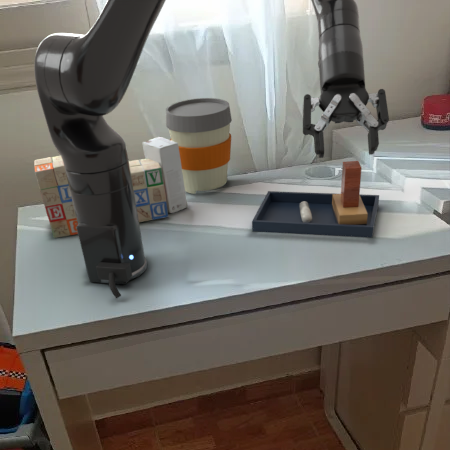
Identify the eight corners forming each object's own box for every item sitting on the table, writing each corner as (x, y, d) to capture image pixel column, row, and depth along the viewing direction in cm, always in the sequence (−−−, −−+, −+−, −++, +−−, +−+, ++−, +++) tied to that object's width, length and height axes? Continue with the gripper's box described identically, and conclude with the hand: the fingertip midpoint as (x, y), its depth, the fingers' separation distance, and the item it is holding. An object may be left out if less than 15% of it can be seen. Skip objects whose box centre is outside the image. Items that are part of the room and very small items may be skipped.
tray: (371, 242, 100) (373, 227, 98) (252, 235, 105) (251, 221, 103) (378, 209, 109) (379, 195, 108) (268, 204, 114) (268, 190, 112)
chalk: (312, 225, 104) (312, 215, 103) (302, 225, 104) (302, 215, 103) (308, 209, 109) (308, 199, 108) (298, 209, 109) (298, 200, 108)
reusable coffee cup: (241, 175, 126) (237, 97, 117) (227, 198, 117) (221, 116, 108) (184, 173, 129) (176, 97, 120) (166, 197, 120) (155, 116, 111)
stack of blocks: (163, 205, 117) (153, 139, 109) (169, 218, 112) (159, 150, 104) (51, 224, 114) (33, 158, 106) (52, 238, 109) (33, 170, 101)
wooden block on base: (366, 229, 102) (371, 173, 95) (338, 231, 102) (341, 175, 96) (357, 207, 108) (361, 154, 102) (331, 209, 109) (334, 156, 102)
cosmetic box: (188, 207, 115) (180, 141, 108) (169, 214, 114) (160, 148, 106) (170, 198, 119) (161, 134, 111) (151, 205, 117) (141, 141, 110)
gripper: (301, 52, 101) (306, 146, 99) (387, 45, 100) (394, 140, 99) (297, 79, 108) (303, 167, 107) (378, 73, 107) (384, 161, 106)
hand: (347, 154), depth 103 cm, fingers open, 8 cm apart
